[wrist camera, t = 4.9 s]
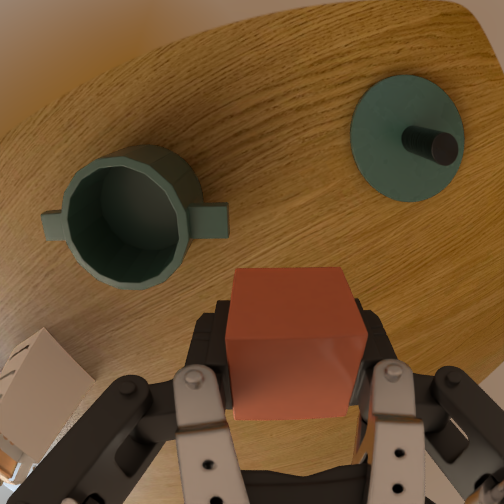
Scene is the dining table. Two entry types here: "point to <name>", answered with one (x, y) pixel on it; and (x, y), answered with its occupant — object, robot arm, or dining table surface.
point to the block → (292, 343)
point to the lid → (407, 138)
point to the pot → (135, 216)
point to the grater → (37, 399)
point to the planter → (6, 464)
